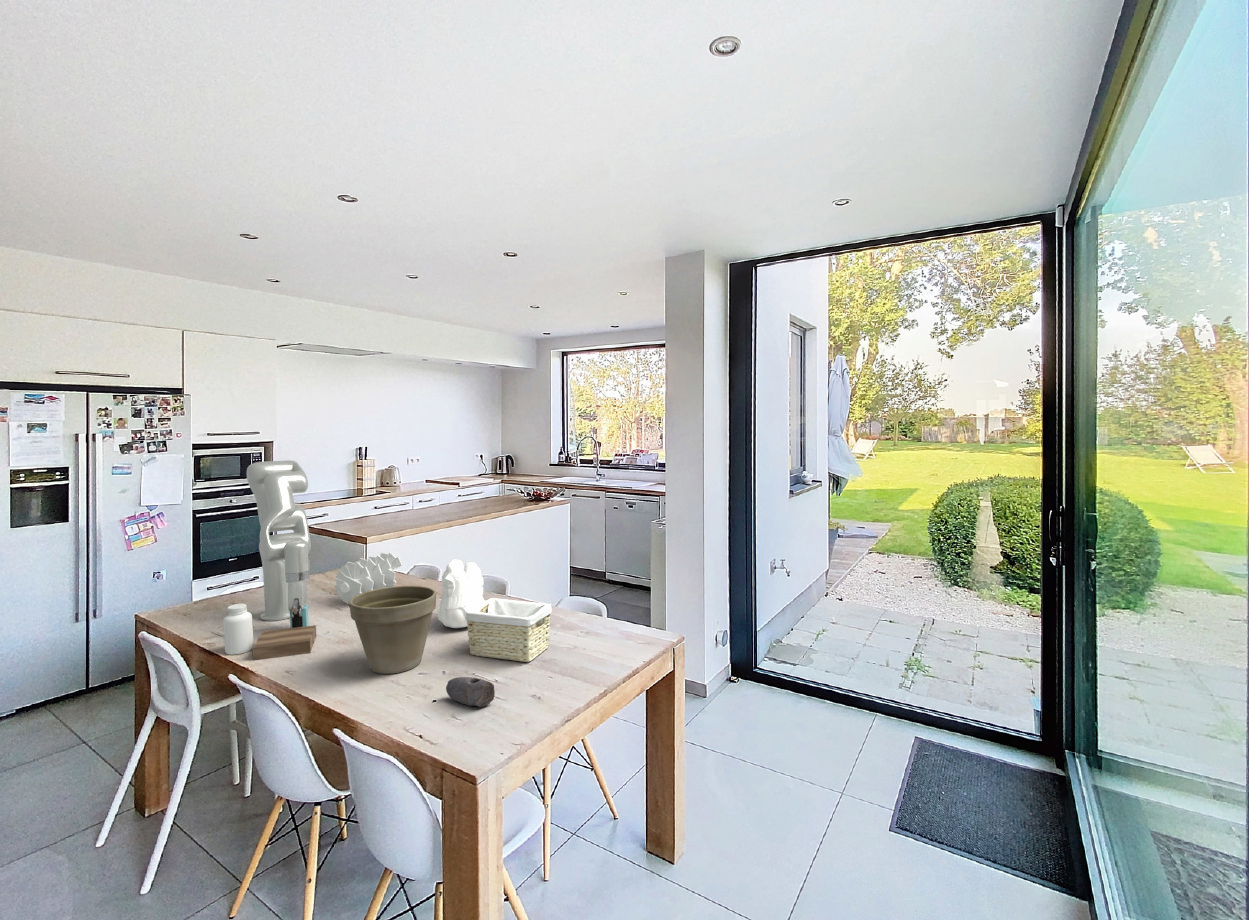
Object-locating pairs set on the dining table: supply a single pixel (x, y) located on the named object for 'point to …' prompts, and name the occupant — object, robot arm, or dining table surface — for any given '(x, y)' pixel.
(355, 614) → the plant pot
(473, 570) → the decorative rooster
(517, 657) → the storage basket
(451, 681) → the perforated stone tool
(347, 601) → the spiral staircase
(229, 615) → the pill bottle
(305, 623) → the teal carton
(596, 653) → the dining table surface
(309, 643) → the wavy brown panel
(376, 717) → the dining table surface
